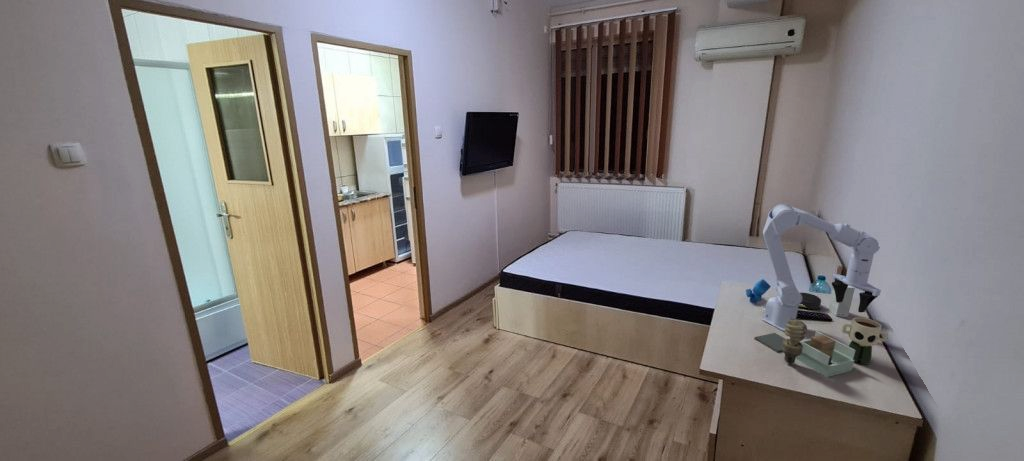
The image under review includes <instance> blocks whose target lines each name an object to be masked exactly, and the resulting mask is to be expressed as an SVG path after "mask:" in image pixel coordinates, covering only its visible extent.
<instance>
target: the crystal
mask: <svg viewBox="0 0 1024 461" xmlns="http://www.w3.org/2000/svg"><path fill="white" fill-rule="evenodd" d="M770 288H771V285H770V284H769V283H768V282H767V281H766V280H765V279H764V278H763V279H760V280H758V281H757V282H756V283H755V284H754V286H753V288H749V289H746V290H745V294H746V296H747V298H749V302H750V303H754V304H757V303H758V302H759V301H761V300H762V296H763V295H765V294H766V293H767V291H768V290H770Z"/></svg>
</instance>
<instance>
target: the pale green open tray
mask: <svg viewBox="0 0 1024 461" xmlns="http://www.w3.org/2000/svg"><path fill="white" fill-rule="evenodd" d="M814 333H815V334H814V336H818V335H825V336H827V337H829V338H831V339H833V340H835V341H836V343H835V347H834V351H833V355H832V359H831V362H833V361H834V363H832V364H828V362H829V358H830V356H828V355H826V354H824V353H822V352H820V351H819V350H817V349H815V348H813V347H811V346H809V345H810V341H811V338H808V339H803V340H802V341H799V342H800V343H801V344H802V345H803V349H802V352H801V354H800V355H799V356H797V357H796V358H795V360H798V361H799V362H801V363H802V364H804V365H805V366H808V367H809V368H810V369H813V370H815V371H816V372H818V373H820V374H821V375H823V376H824V377H826V378H829V377H832V376H836V375H840V374H844V373H848V372H850V371H853V368H854V363H855V362H854V360H853V358H854V354H855V350H854V349H852V348H850V347H849V345H846V344H844V343H842V342H840V341H838V340H837V339H834V338H832V337H830V336H828V335H827V334H824V333H822V332H820V331H819V330H816V331H815V332H814ZM835 362H836V363H835Z"/></svg>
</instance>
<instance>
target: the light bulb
mask: <svg viewBox="0 0 1024 461" xmlns="http://www.w3.org/2000/svg"><path fill="white" fill-rule="evenodd" d="M785 325H786V327H785V330H786V331H783V332H784V335H785V336H787V337H789V338H785V340H783V343H782V350H783V351H782V352H783V354H784V357H783V358H784V361H785V363H787V364H788V365H793V364H795V362H796V357H797V356H799V355H800V354H801V352H802V349H803V345H802V344H801V343H800V342H799V341H803V340H805V337H806V336H805V335H806V334H807V330H808V326H807V324H806V323H805V322H804V321H801V320H799V319H797V318H796V319H792V318H791V319H789V322H787V323H786V324H785Z"/></svg>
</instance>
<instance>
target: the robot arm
mask: <svg viewBox="0 0 1024 461" xmlns="http://www.w3.org/2000/svg"><path fill="white" fill-rule="evenodd" d="M803 225H807V226H810V227H813V228H815V229H817V230H820V231H821V232H825V233H826V234H828V237H829V239H832V240H833V241H836V242H838V243H840V244H841V245H842V244H843V245H845V246H847V247H849V248H852V249H851V254H850V257H849V263H848V266H847V271H846V274H845V275H846V276H845V275H841V274H839V273H834V274H832V278H831V280H832V282H831V286H832V287H833V288H834V291H835V295H836V302H837V303H840V302H843V299H844V295H845V292H846V289H847V287H848V285H850V286H852V287H854V288H855V289H858V290H860V291H863V292H859V293H858V294H859V303H858V304H859V306H858V310H857V311H858V312H857V313H865V312H866V311H867V308H868V307H869V306H870V305H871V303H872V302H873V301H874V300H875V299H877V298H878V297H880V295H881V291H882V290H881V289H880V288H878V287H876V286H874V285H871V284H869V283H868V281H869V280H868V279H869V275H870V272H871V268H872V263H873V259H874V255H875V254H876V253H877V252H878V251H879V250H880V247H881V246H879V241H878V240H877V239H876V238H874V237H873V236H871V235H870V234H868V233H867V232H866V231H863V230H860V231H859V230H857V229H855V228H852V227H851V225H850V224H849V223H847V222H845V223H840V222H838V223H836V224H832V223H831V222H830V221H827V220H825V219H822V218H820V217H818V216H816V215H814V214H812V213H809V212H807V211H805V210H802V209H799V208H797V207H794V206H792V207H790V205H787V204H785V203H780V204H777V205H775V206H774V207H773V208H771V210H770V211H769V212H768V214H767V219H766V222H765V224H764V227H763V229H762V235H763V238H764V242H765V246H766V247H767V252H768V255H769V258H770V262H771V265H772V268H773V272H774V275H775V281H776V286H775V291H776V292H777V294H778V295H777V296H773V297H770V298H768V300H767V302H766V304H765V310H764V314H763V315H764V316H763V317H762V319H761V320H762V321H763V322H765V323H768V324H769V325H771V326H774V327H775V328H777V329H778V330H781V331H783V332H785V331H786V330H785V327H786V325H785V324H786V323H787V322H789V319H791V318H792V319H797V317H798V310H799V308H800V307H799V304H800V303H801V302H802V295H801V294H800V293H801V292H800V291H799V290H798V288H797V287H796V284H795V282H794V279H793V276H792V273H791V269H790V266H789V263H788V262H789V261H788V260H787V256H786V253H785V249H784V247H783V243H782V239H781V236H782V235H783V234H784V233H785V232H786V231H788V230H789V229H791V228H792V227H794V226H797V227H799V226H803ZM833 288H832V289H833Z"/></svg>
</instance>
